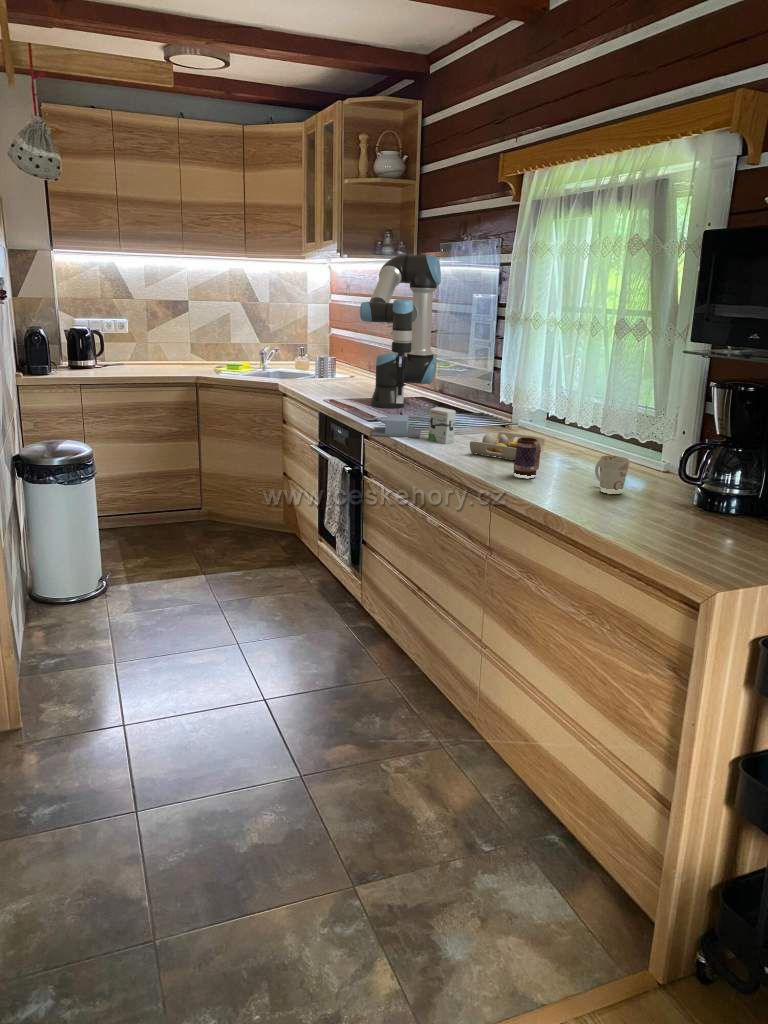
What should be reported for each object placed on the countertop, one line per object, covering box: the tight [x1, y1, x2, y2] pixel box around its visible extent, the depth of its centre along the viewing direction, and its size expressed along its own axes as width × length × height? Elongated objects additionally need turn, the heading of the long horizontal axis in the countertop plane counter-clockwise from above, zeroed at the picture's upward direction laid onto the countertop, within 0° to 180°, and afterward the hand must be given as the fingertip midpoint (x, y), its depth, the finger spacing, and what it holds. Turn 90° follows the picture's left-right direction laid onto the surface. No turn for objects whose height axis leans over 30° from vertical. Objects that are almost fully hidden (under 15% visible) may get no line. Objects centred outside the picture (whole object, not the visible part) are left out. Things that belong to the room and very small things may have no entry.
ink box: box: [427, 406, 457, 445], centre depth 285 cm, size 9×5×12 cm, turn 47°
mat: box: [370, 426, 422, 439], centre depth 298 cm, size 14×18×1 cm
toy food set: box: [469, 430, 547, 461], centre depth 273 cm, size 25×18×8 cm
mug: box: [594, 455, 631, 490], centre depth 229 cm, size 8×13×10 cm, turn 24°
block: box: [384, 414, 410, 435], centre depth 299 cm, size 5×8×12 cm
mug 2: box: [513, 437, 542, 476], centre depth 240 cm, size 10×7×12 cm
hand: (399, 403), depth 308 cm, fingers closed
